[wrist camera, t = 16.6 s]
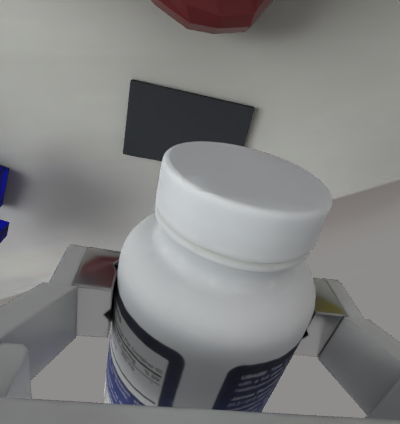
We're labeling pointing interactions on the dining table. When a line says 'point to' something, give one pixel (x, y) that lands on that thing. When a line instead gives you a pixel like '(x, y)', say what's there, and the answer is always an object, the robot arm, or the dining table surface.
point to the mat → (179, 120)
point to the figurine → (0, 183)
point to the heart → (214, 14)
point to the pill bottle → (215, 281)
